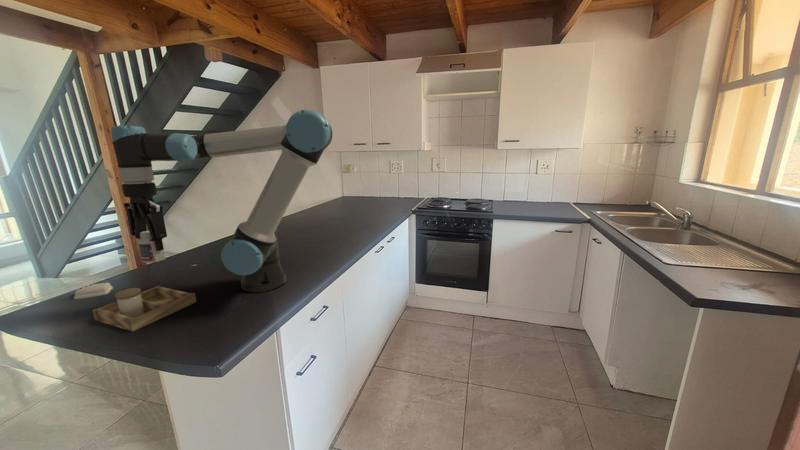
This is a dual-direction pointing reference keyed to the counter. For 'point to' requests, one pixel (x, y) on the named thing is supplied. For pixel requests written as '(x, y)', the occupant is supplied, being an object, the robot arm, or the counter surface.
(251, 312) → the counter surface
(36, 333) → the counter surface
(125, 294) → the jar
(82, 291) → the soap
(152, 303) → the caddy
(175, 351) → the counter surface
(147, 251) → the pill bottle
